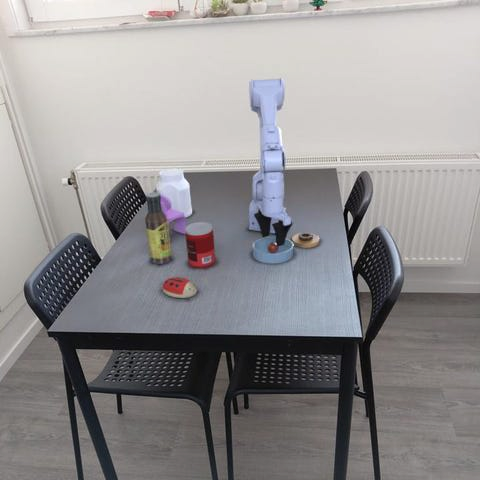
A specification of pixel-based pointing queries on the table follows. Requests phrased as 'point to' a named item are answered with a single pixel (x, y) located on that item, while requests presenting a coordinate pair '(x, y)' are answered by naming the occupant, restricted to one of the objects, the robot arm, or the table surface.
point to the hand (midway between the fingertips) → (272, 240)
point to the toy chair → (173, 215)
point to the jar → (175, 190)
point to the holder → (305, 240)
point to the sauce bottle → (157, 230)
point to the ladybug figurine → (179, 288)
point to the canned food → (200, 245)
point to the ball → (272, 247)
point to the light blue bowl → (266, 257)
